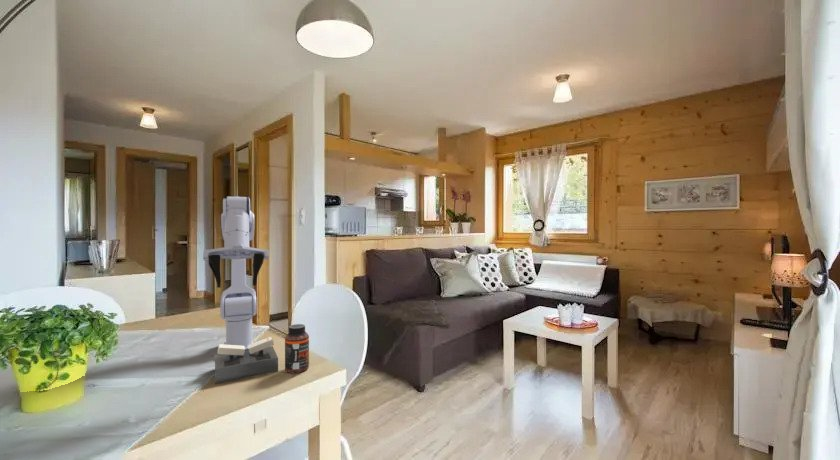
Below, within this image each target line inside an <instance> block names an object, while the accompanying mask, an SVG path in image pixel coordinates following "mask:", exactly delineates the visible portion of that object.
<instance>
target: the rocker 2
mask: <svg viewBox="0 0 840 460" xmlns="http://www.w3.org/2000/svg"><path fill="white" fill-rule="evenodd" d="M274 345H275V344H274V340H273V338H272V336H271V335H270V336H268V337H266V338H263V339H260V340H257V341H255V342H254V343H252V344H249V345H248V349H247V350H249V352H250V354H252V353H255V352H257V351H260V350H262V349H265V348H267V347H270V346H274Z"/></svg>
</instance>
